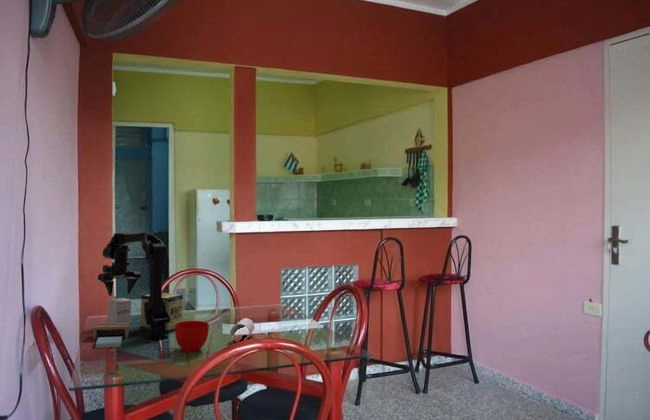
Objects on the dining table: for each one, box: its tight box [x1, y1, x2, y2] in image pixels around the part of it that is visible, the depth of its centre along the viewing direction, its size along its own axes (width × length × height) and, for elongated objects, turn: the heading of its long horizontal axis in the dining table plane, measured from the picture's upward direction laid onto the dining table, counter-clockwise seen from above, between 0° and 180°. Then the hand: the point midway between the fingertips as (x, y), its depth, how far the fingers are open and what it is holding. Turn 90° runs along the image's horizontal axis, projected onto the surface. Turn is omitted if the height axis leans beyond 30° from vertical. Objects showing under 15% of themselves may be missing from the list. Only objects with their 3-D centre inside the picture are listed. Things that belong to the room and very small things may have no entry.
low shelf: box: [92, 322, 130, 341], centre depth 219 cm, size 8×13×5 cm, turn 109°
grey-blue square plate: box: [95, 336, 123, 349], centre depth 208 cm, size 10×9×2 cm
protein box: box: [139, 292, 184, 334], centre depth 236 cm, size 10×16×16 cm
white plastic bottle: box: [229, 317, 256, 339], centre depth 227 cm, size 8×19×8 cm, turn 176°
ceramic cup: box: [174, 320, 210, 353], centre depth 206 cm, size 13×17×10 cm
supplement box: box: [106, 297, 132, 328], centre depth 236 cm, size 7×7×13 cm
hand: (119, 294), depth 237 cm, fingers open, 9 cm apart
